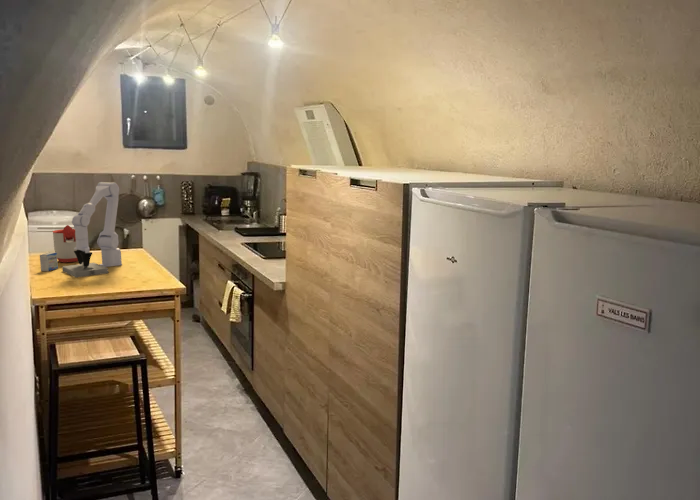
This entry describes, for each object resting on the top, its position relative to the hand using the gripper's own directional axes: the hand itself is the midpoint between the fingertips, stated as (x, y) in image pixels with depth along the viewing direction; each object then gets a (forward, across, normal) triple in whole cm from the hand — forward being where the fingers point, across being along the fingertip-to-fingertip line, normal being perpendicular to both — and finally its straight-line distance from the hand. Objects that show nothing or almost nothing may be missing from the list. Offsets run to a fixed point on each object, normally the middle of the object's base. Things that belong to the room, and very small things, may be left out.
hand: (83, 265), depth 332 cm
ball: (-1, +2, 0) cm, 2 cm away
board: (+3, +2, 0) cm, 4 cm away
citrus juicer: (+4, -34, +4) cm, 35 cm away
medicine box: (+4, -16, -12) cm, 21 cm away
